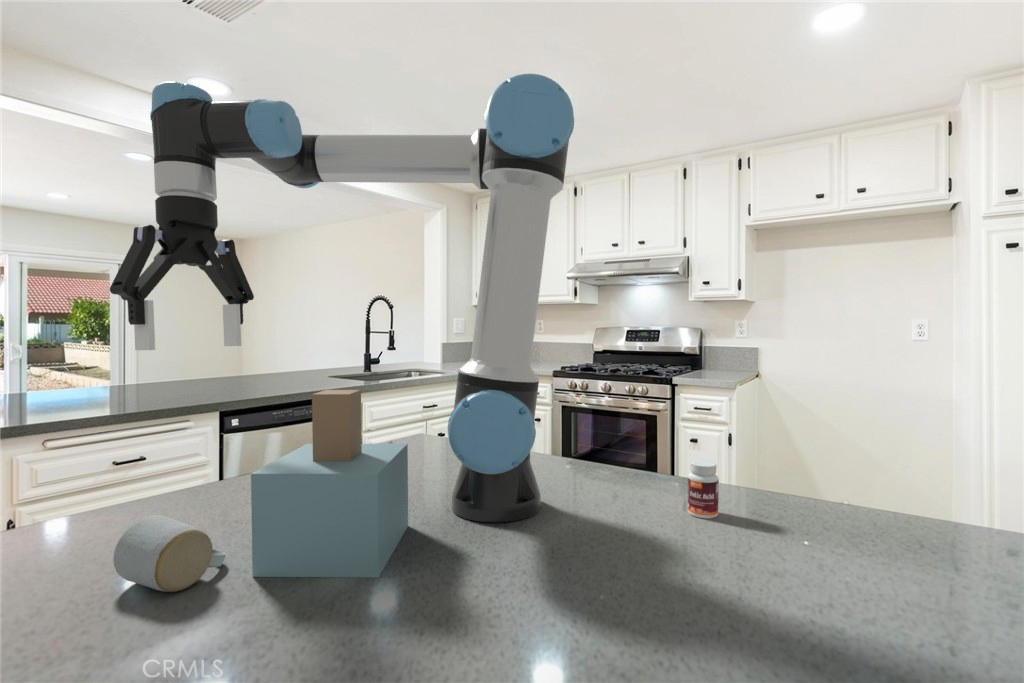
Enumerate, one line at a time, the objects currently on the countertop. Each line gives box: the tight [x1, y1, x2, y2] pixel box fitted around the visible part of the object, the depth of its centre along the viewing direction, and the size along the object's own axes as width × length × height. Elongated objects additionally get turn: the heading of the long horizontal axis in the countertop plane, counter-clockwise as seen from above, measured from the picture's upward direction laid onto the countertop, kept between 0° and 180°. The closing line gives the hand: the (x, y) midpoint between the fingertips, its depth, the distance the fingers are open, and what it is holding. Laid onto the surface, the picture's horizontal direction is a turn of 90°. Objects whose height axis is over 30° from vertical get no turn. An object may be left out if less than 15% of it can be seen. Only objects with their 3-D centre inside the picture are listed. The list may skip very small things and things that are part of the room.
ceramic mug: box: [112, 514, 226, 593], centre depth 64 cm, size 11×8×8 cm
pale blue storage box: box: [250, 389, 409, 579], centre depth 72 cm, size 16×17×22 cm
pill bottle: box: [687, 459, 720, 520], centre depth 85 cm, size 5×5×8 cm
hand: (192, 348), depth 75 cm, fingers open, 13 cm apart
